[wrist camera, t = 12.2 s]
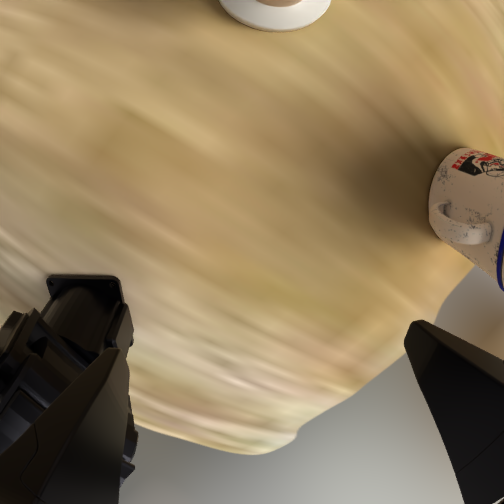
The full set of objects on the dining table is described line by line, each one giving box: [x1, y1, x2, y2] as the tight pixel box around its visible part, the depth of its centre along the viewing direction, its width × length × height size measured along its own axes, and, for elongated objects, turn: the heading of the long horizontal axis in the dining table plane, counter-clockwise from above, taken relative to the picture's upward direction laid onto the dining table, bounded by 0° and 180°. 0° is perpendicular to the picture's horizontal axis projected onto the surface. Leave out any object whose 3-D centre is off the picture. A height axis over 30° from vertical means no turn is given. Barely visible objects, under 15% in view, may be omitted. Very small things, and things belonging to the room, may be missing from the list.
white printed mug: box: [429, 148, 504, 291], centre depth 14 cm, size 12×9×12 cm
